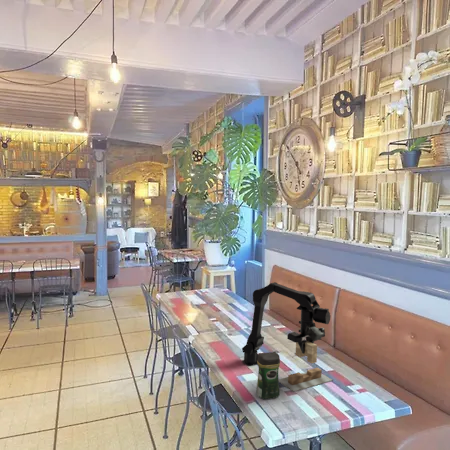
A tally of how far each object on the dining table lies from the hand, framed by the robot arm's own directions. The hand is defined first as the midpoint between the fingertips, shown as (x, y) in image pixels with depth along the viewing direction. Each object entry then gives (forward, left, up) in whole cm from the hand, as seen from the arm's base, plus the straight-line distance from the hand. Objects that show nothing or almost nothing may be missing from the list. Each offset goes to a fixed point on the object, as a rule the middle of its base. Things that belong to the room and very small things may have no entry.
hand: (305, 352), depth 174 cm
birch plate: (0, 0, -3) cm, 3 cm away
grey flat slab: (0, 0, -13) cm, 13 cm away
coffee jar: (-24, -3, -14) cm, 28 cm away
